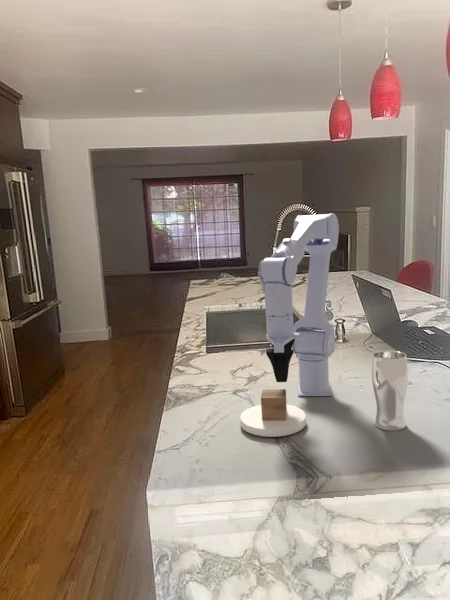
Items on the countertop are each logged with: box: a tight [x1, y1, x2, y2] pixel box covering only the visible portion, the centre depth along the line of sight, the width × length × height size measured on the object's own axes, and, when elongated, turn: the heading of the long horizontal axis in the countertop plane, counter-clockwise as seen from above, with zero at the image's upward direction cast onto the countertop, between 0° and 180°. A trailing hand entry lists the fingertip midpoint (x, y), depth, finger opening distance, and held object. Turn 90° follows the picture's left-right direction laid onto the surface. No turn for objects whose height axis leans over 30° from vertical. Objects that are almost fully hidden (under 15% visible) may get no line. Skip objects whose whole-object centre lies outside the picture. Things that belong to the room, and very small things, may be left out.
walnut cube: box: [260, 388, 288, 421], centre depth 106 cm, size 5×5×5 cm
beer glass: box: [371, 349, 409, 432], centre depth 101 cm, size 7×7×15 cm
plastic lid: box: [239, 403, 307, 438], centre depth 107 cm, size 14×14×2 cm
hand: (282, 375), depth 107 cm, fingers open, 7 cm apart
